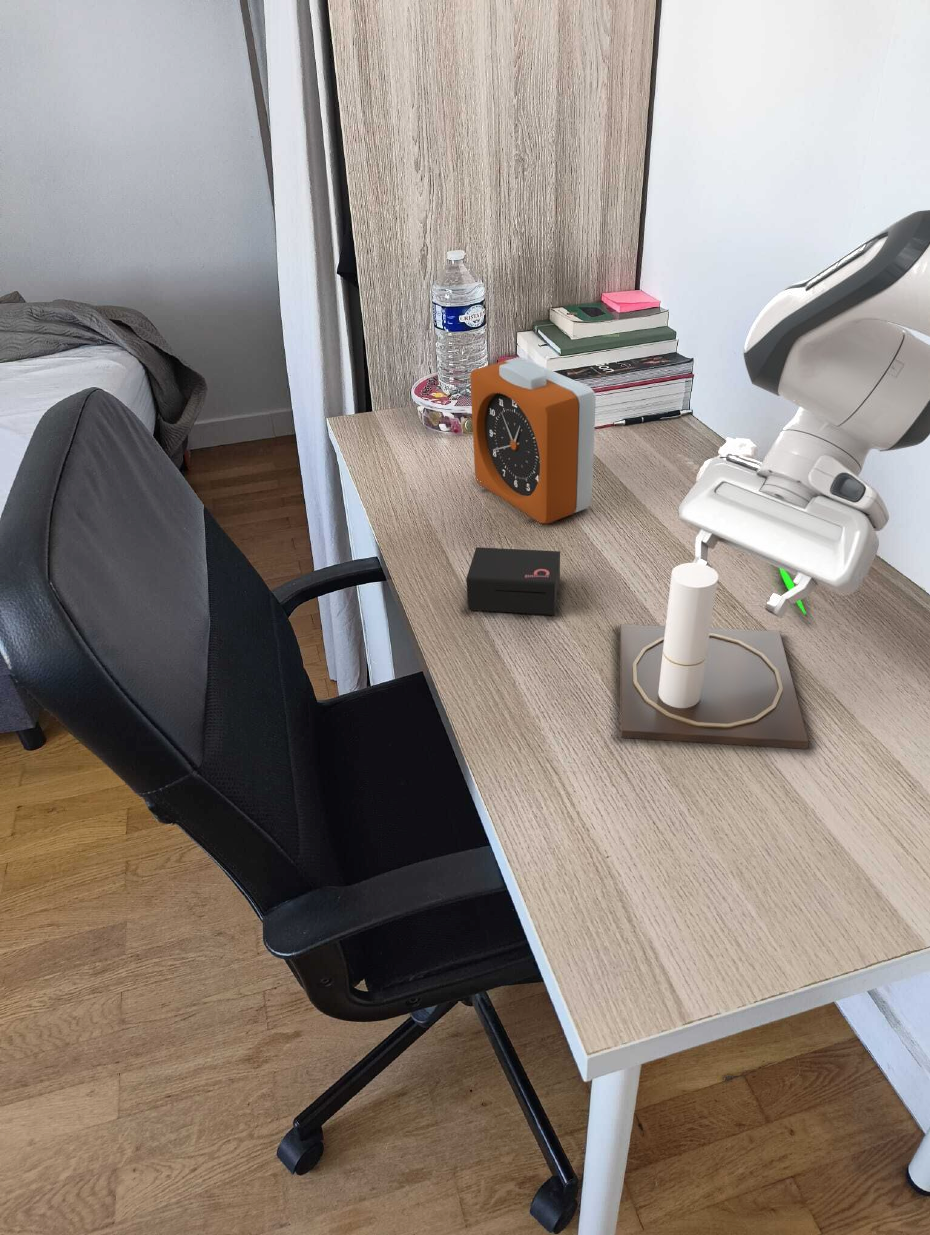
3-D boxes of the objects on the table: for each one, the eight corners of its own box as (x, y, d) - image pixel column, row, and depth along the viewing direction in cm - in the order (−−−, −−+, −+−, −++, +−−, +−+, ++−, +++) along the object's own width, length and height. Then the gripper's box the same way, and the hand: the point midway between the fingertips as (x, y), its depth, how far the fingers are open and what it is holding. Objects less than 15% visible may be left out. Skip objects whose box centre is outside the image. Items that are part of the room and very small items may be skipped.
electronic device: (478, 578, 110) (476, 546, 107) (559, 583, 108) (560, 550, 105) (468, 611, 104) (466, 578, 101) (554, 617, 102) (554, 583, 99)
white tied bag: (740, 540, 118) (797, 476, 114) (703, 516, 115) (761, 450, 110) (704, 500, 128) (756, 440, 123) (670, 478, 124) (721, 415, 120)
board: (778, 637, 97) (780, 629, 96) (807, 749, 82) (809, 740, 82) (619, 630, 99) (620, 622, 99) (620, 737, 85) (621, 729, 84)
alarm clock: (473, 482, 132) (466, 352, 120) (518, 466, 136) (516, 339, 123) (545, 529, 119) (546, 389, 107) (593, 510, 123) (599, 372, 111)
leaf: (777, 558, 110) (778, 553, 109) (811, 622, 98) (812, 616, 98) (770, 558, 110) (771, 553, 109) (803, 622, 98) (804, 616, 98)
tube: (704, 707, 86) (722, 586, 78) (662, 708, 87) (676, 588, 78) (695, 680, 90) (712, 561, 81) (655, 681, 90) (667, 563, 81)
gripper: (709, 434, 90) (642, 546, 91) (893, 499, 77) (813, 628, 78) (728, 459, 95) (665, 565, 96) (905, 524, 82) (829, 645, 83)
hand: (732, 594), depth 87 cm, fingers open, 8 cm apart
